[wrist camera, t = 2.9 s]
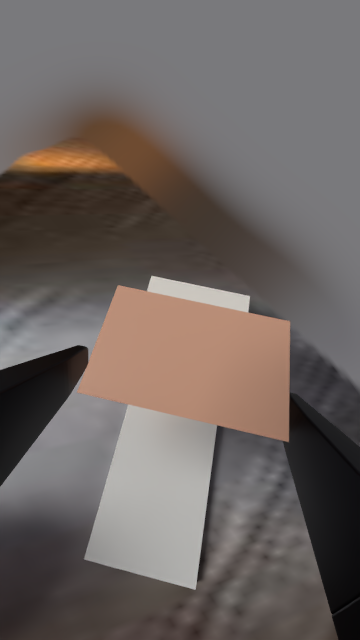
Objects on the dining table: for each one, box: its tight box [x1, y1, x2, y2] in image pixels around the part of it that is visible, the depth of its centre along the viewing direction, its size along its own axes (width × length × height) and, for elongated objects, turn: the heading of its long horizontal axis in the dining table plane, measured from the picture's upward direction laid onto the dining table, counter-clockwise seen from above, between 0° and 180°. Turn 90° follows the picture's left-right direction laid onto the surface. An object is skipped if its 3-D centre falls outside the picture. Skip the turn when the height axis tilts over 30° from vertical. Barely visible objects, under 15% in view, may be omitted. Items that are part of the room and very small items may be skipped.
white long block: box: [84, 276, 250, 590], centre depth 14 cm, size 18×7×6 cm, turn 168°
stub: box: [77, 285, 290, 442], centre depth 11 cm, size 3×5×12 cm, turn 78°
